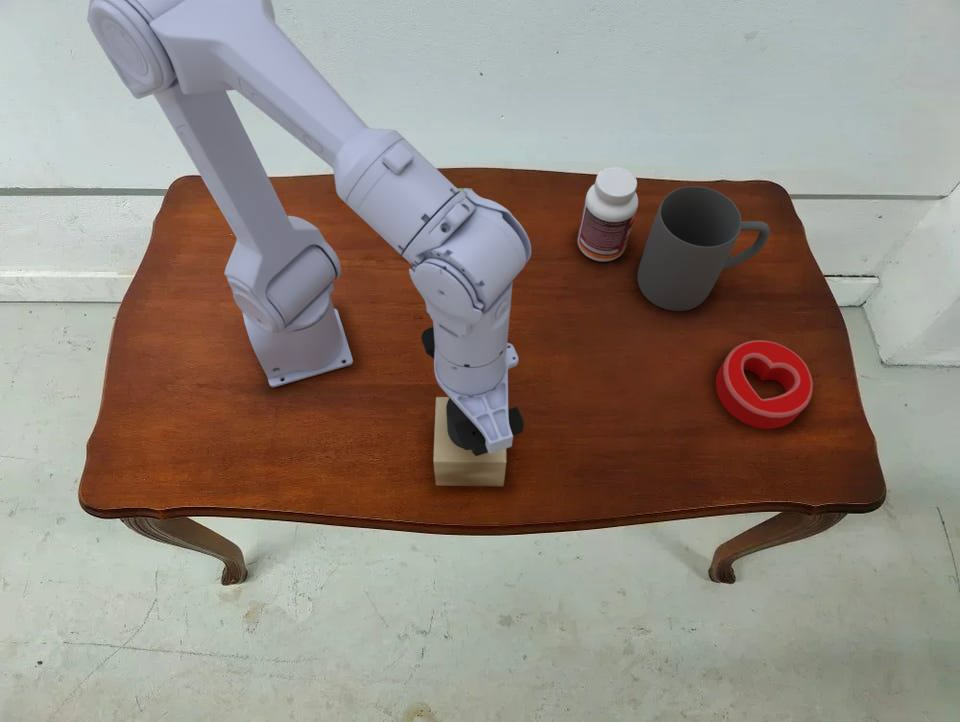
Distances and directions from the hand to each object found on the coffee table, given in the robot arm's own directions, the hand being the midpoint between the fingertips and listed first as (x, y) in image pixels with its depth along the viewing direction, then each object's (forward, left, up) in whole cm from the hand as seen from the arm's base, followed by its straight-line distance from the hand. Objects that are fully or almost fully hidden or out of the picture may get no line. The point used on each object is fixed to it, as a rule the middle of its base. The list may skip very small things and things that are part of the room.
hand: (470, 414), depth 66 cm
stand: (0, 0, -10) cm, 10 cm away
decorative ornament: (+33, -3, -10) cm, 35 cm away
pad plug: (0, 0, -3) cm, 3 cm away
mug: (+33, +13, -10) cm, 37 cm away
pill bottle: (+25, +22, -10) cm, 35 cm away
